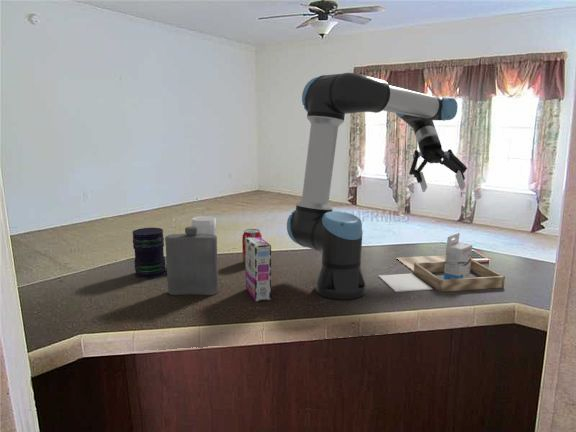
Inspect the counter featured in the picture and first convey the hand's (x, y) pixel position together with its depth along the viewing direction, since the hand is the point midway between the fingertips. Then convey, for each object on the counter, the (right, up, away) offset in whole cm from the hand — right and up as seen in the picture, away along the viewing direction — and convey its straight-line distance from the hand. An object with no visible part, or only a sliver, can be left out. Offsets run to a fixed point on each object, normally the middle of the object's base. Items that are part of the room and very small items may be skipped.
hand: (444, 189), depth 150 cm
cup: (-84, -26, +13) cm, 89 cm away
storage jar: (-100, -29, -2) cm, 104 cm away
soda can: (-66, -26, +11) cm, 72 cm away
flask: (-82, -32, -18) cm, 90 cm away
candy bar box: (-62, -33, -19) cm, 73 cm away
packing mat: (-16, -31, -10) cm, 36 cm away
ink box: (+2, -30, -7) cm, 31 cm away
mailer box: (0, -28, +1) cm, 28 cm away
